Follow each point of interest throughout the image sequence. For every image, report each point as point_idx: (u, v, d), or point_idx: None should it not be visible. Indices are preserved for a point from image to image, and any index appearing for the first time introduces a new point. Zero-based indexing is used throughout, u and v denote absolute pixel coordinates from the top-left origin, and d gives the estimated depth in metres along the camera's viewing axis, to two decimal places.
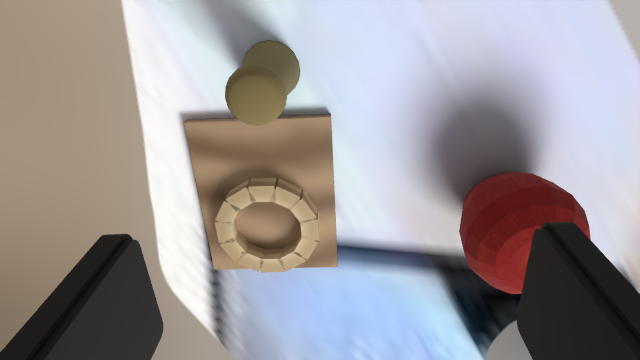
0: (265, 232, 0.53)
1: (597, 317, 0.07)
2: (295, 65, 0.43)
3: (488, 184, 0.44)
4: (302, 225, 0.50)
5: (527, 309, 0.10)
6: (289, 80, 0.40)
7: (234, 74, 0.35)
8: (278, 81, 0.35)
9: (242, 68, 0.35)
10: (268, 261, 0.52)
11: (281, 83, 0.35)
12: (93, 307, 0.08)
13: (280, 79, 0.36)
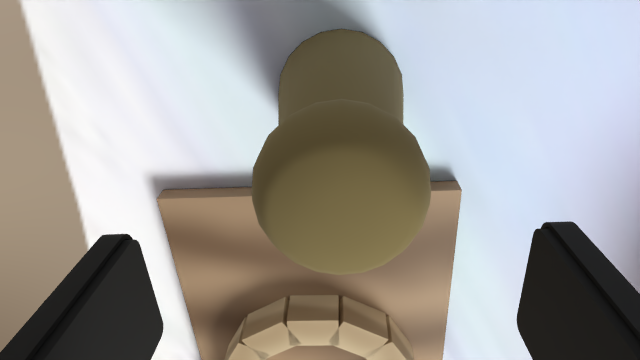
0: None
1: (597, 317, 0.07)
2: (401, 86, 0.19)
3: None
4: None
5: (527, 309, 0.10)
6: None
7: (282, 137, 0.11)
8: (419, 159, 0.11)
9: (308, 119, 0.11)
10: None
11: (424, 161, 0.12)
12: (93, 307, 0.08)
13: (419, 148, 0.12)
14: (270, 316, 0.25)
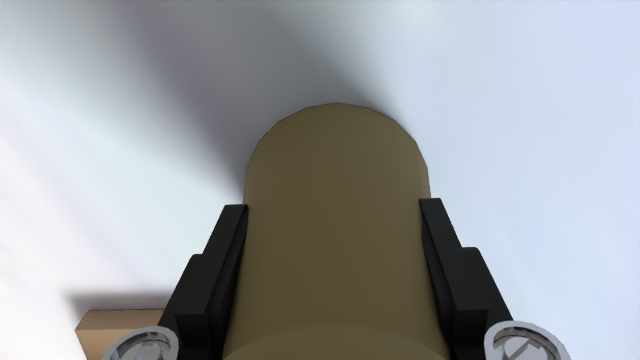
0: None
1: (429, 273, 0.08)
2: (429, 191, 0.12)
3: None
4: None
5: None
6: None
7: None
8: None
9: None
10: None
11: None
12: (239, 264, 0.09)
13: None
14: None
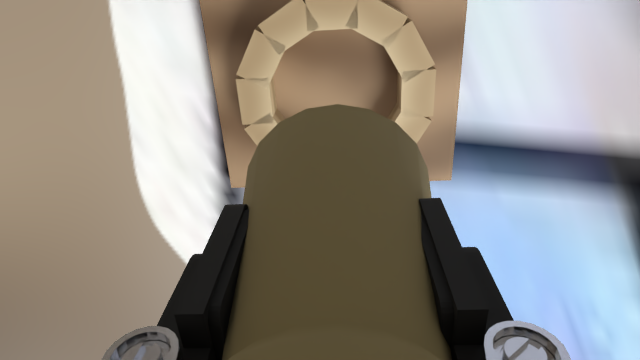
0: None
1: (429, 273, 0.08)
2: (430, 193, 0.12)
3: None
4: (405, 83, 0.26)
5: None
6: None
7: None
8: None
9: None
10: None
11: None
12: (238, 264, 0.09)
13: None
14: None
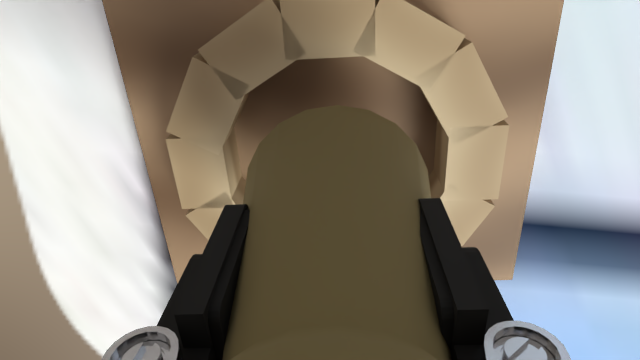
0: None
1: (429, 273, 0.08)
2: (430, 194, 0.12)
3: None
4: (454, 147, 0.15)
5: None
6: None
7: None
8: None
9: None
10: None
11: None
12: (239, 264, 0.09)
13: None
14: None
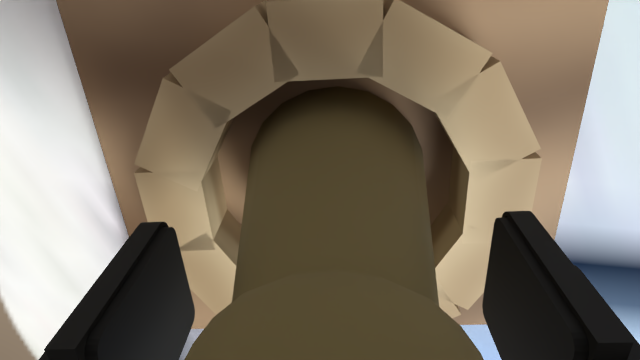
0: None
1: (542, 297, 0.08)
2: (423, 170, 0.13)
3: None
4: (475, 184, 0.13)
5: (490, 295, 0.10)
6: None
7: None
8: None
9: (264, 354, 0.05)
10: None
11: None
12: (139, 288, 0.08)
13: None
14: None
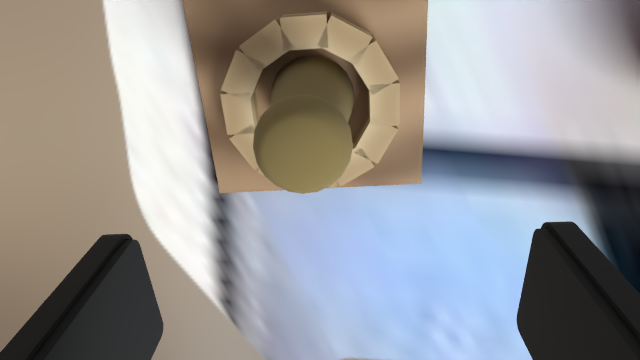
0: None
1: (597, 317, 0.07)
2: (350, 91, 0.29)
3: None
4: (372, 96, 0.29)
5: (527, 309, 0.10)
6: (347, 116, 0.26)
7: (270, 113, 0.21)
8: (343, 124, 0.21)
9: (283, 103, 0.21)
10: None
11: (346, 127, 0.21)
12: (93, 307, 0.08)
13: (344, 120, 0.22)
14: None
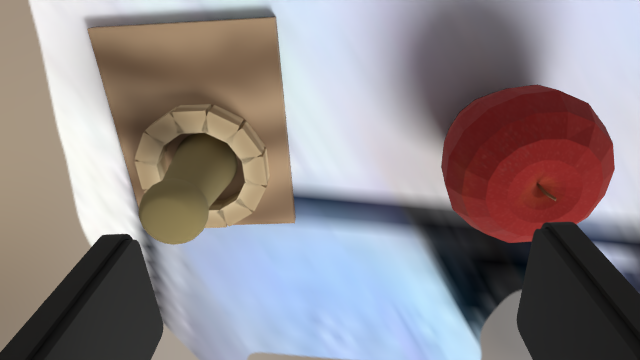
0: None
1: (597, 317, 0.07)
2: (230, 161, 0.40)
3: (477, 101, 0.34)
4: (244, 165, 0.39)
5: (527, 309, 0.10)
6: (219, 183, 0.37)
7: (147, 194, 0.32)
8: (195, 202, 0.32)
9: (155, 187, 0.32)
10: None
11: (199, 202, 0.32)
12: (93, 307, 0.08)
13: (199, 197, 0.32)
14: (164, 115, 0.38)
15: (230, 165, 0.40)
